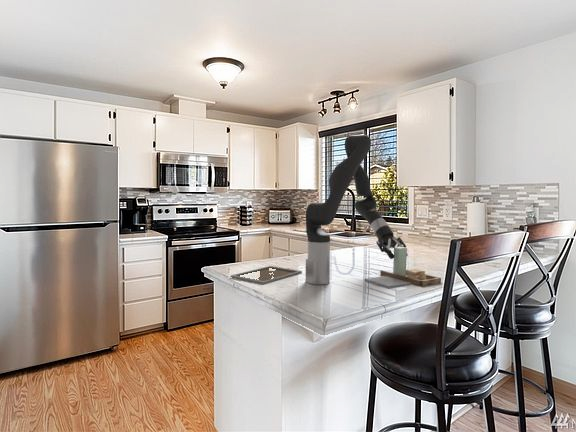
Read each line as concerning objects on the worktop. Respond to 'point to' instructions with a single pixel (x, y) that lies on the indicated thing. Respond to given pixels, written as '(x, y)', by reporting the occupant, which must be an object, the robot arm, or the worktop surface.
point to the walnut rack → (428, 280)
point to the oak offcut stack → (416, 274)
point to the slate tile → (387, 281)
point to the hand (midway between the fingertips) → (399, 257)
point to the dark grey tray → (265, 276)
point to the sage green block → (400, 261)
